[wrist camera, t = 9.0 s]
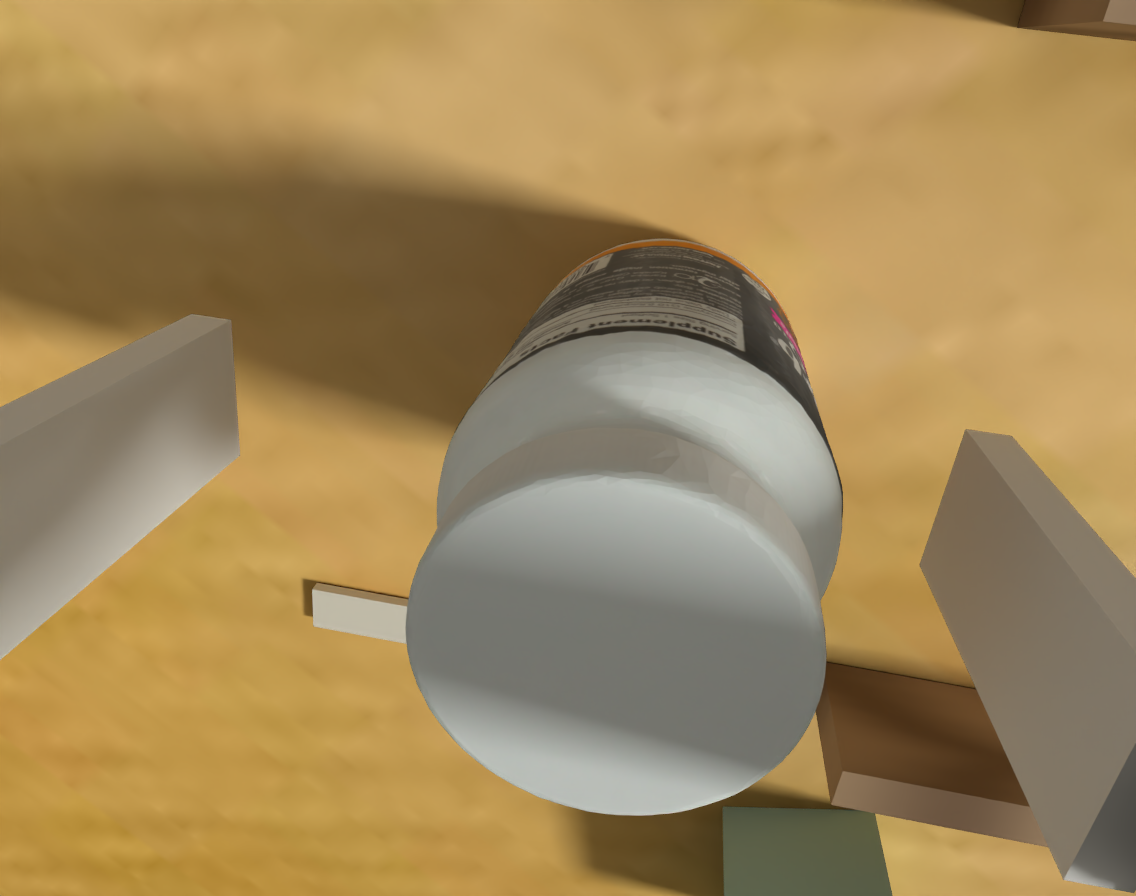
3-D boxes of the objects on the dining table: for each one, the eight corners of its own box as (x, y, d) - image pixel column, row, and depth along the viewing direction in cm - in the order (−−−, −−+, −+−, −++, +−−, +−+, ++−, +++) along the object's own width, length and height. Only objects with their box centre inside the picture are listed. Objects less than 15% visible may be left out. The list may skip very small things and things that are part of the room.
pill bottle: (799, 475, 19) (882, 862, 10) (548, 488, 20) (417, 847, 11) (792, 214, 16) (892, 409, 7) (507, 246, 17) (299, 449, 9)
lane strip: (318, 619, 22) (313, 626, 22) (316, 582, 22) (311, 589, 22) (767, 702, 21) (768, 711, 21) (778, 666, 21) (778, 674, 21)
